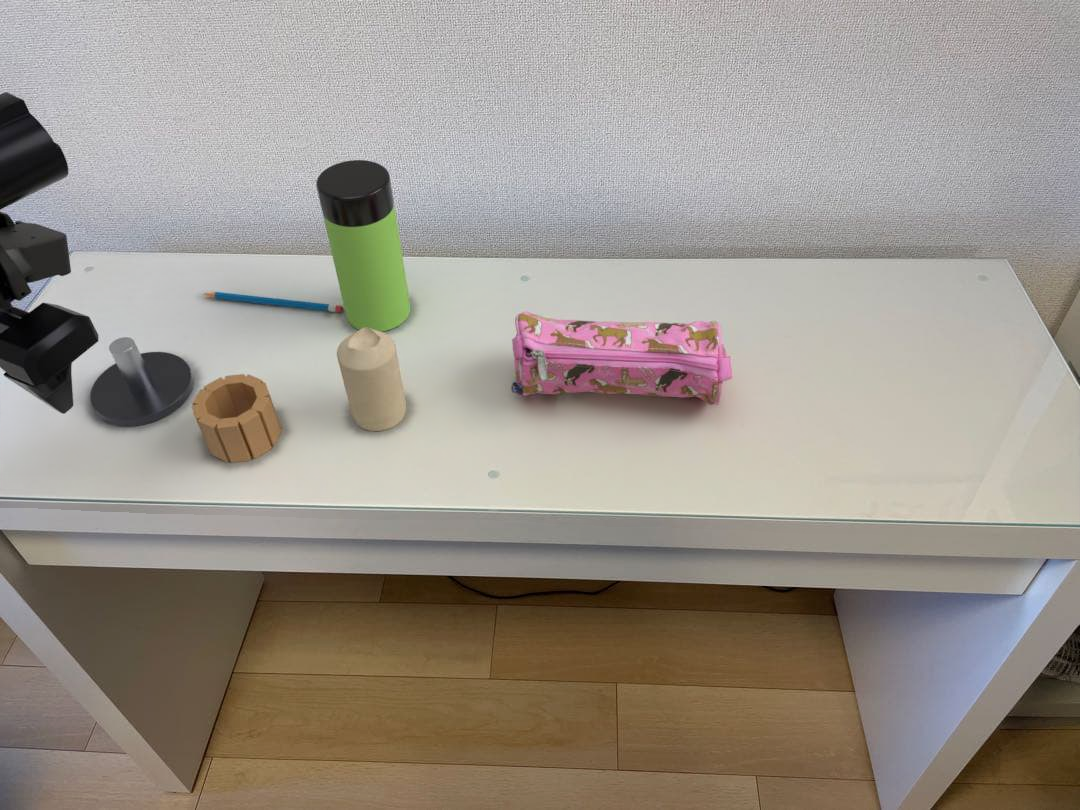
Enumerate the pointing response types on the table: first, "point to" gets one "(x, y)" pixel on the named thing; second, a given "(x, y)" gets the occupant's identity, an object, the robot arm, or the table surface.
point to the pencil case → (619, 358)
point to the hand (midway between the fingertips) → (27, 393)
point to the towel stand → (140, 385)
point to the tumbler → (365, 243)
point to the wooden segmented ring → (237, 418)
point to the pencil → (275, 301)
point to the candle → (372, 379)
